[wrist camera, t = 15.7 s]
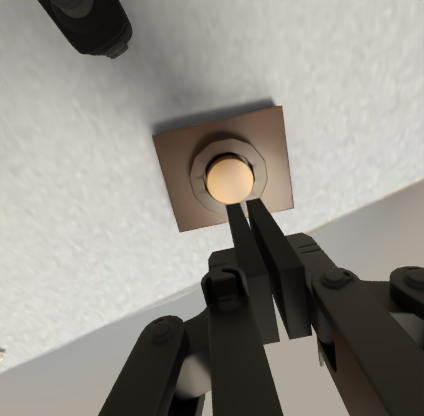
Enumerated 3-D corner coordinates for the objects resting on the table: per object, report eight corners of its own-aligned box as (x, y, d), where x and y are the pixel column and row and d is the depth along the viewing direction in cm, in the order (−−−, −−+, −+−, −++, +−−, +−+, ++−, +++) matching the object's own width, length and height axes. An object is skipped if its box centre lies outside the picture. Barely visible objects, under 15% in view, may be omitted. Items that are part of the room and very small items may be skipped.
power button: (211, 202, 25) (212, 208, 24) (202, 160, 24) (202, 164, 22) (253, 193, 25) (257, 199, 24) (246, 150, 24) (249, 153, 22)
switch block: (181, 224, 30) (178, 240, 26) (155, 133, 27) (147, 137, 23) (287, 201, 29) (300, 214, 26) (275, 105, 26) (288, 105, 22)
